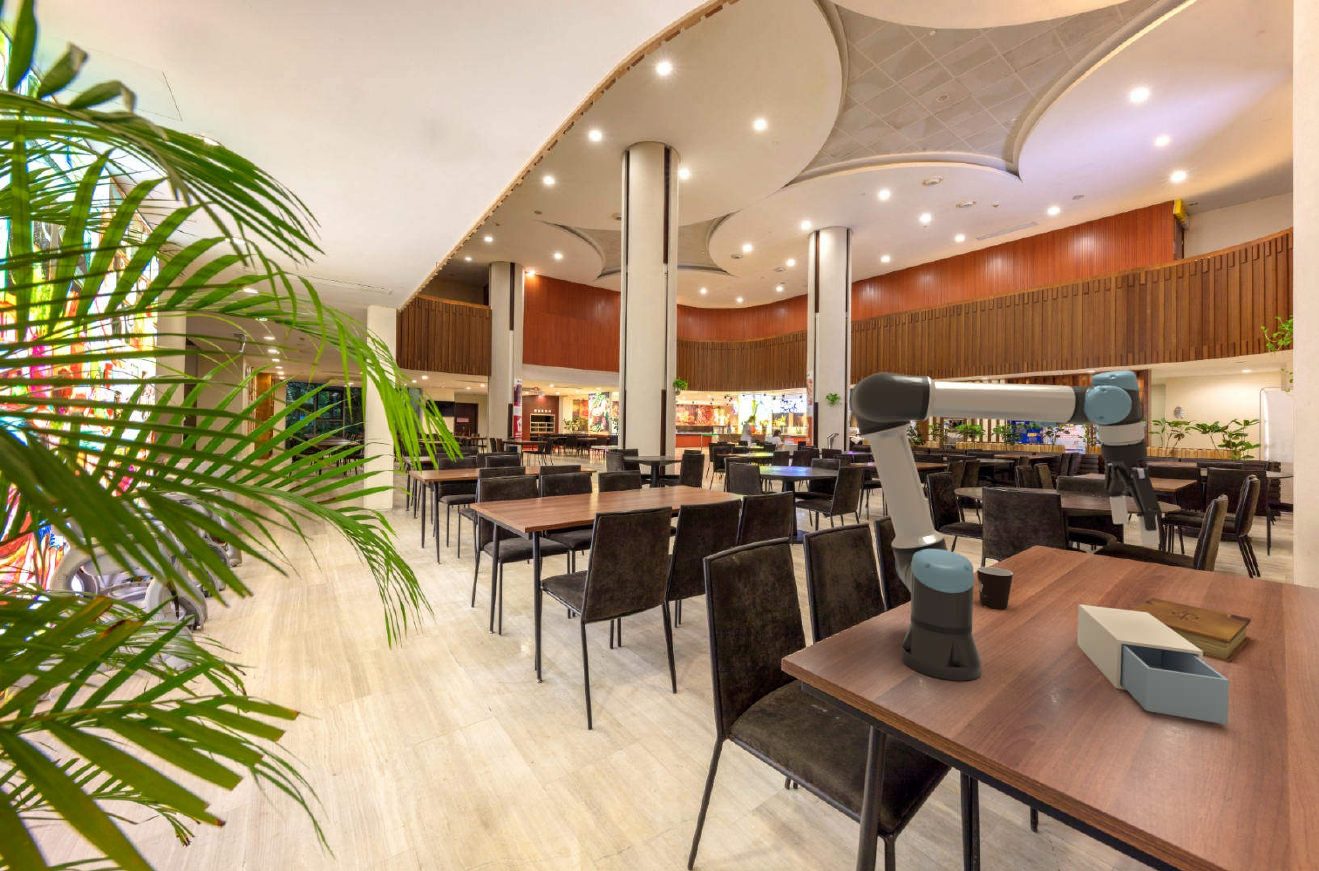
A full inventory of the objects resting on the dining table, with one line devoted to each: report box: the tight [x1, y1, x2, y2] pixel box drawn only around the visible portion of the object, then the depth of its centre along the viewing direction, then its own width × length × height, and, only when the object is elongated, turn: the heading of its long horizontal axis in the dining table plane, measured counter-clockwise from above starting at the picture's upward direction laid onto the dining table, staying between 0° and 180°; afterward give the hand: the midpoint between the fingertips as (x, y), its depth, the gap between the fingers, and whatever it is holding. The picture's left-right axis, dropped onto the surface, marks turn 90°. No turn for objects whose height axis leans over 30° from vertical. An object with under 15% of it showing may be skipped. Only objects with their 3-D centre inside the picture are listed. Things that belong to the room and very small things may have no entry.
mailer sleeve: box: [1076, 604, 1204, 691], centre depth 110 cm, size 22×13×10 cm, turn 157°
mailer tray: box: [1120, 644, 1230, 726], centre depth 101 cm, size 22×11×8 cm, turn 157°
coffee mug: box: [976, 566, 1014, 611], centre depth 150 cm, size 12×9×10 cm
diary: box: [1130, 597, 1252, 663], centre depth 129 cm, size 23×19×6 cm
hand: (1135, 533), depth 118 cm, fingers open, 13 cm apart
